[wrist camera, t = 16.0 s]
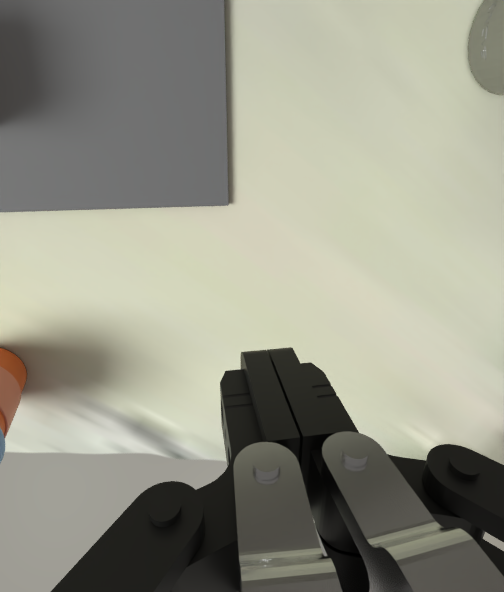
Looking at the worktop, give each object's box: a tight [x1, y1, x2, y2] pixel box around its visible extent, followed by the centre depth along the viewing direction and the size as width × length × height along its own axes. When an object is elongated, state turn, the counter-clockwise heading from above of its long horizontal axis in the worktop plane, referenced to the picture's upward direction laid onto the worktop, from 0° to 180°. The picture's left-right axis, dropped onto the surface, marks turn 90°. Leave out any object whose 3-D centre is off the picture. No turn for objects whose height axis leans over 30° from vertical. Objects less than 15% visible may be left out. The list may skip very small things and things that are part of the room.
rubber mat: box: [0, 0, 228, 212], centre depth 30 cm, size 27×20×1 cm
